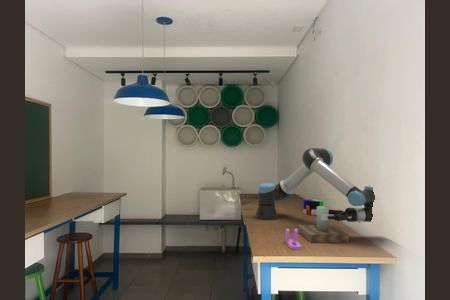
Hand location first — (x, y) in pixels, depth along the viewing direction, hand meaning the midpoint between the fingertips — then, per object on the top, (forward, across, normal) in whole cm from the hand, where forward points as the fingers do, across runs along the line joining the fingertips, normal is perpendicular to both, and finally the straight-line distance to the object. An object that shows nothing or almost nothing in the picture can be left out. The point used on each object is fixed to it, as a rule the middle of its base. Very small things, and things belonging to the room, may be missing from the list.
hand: (316, 214), depth 163 cm
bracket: (+17, -14, -12) cm, 25 cm away
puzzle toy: (-21, +62, -12) cm, 67 cm away
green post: (-3, 0, -8) cm, 9 cm away
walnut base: (-3, 0, -12) cm, 12 cm away
